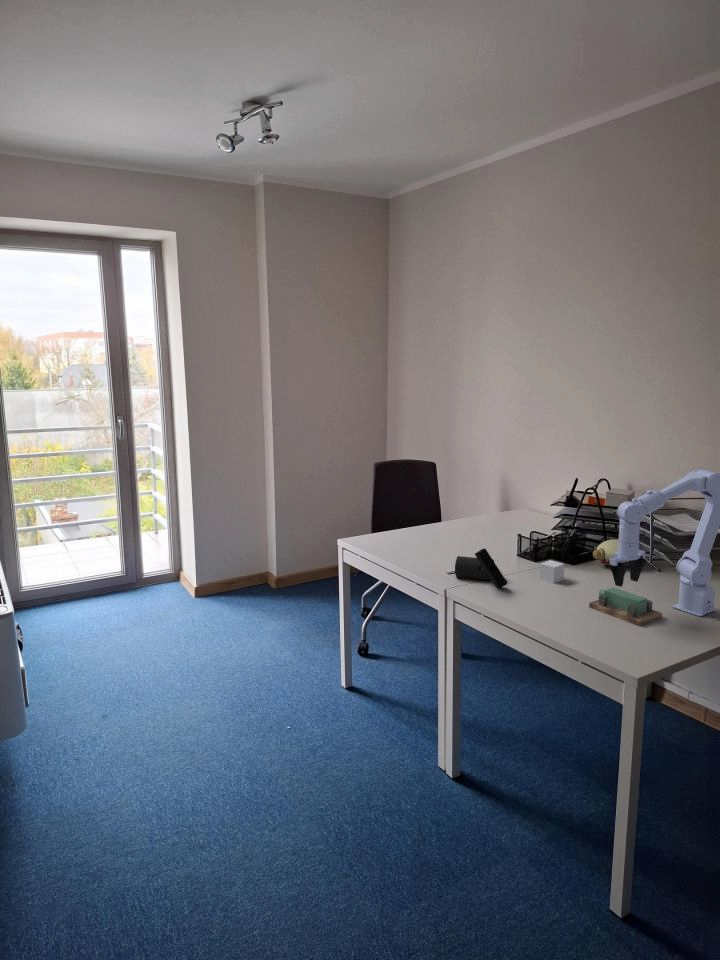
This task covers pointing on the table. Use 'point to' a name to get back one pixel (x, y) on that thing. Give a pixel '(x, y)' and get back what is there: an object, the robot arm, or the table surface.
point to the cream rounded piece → (607, 551)
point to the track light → (479, 568)
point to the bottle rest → (627, 616)
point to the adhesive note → (551, 571)
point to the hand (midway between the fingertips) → (626, 583)
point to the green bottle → (624, 600)
